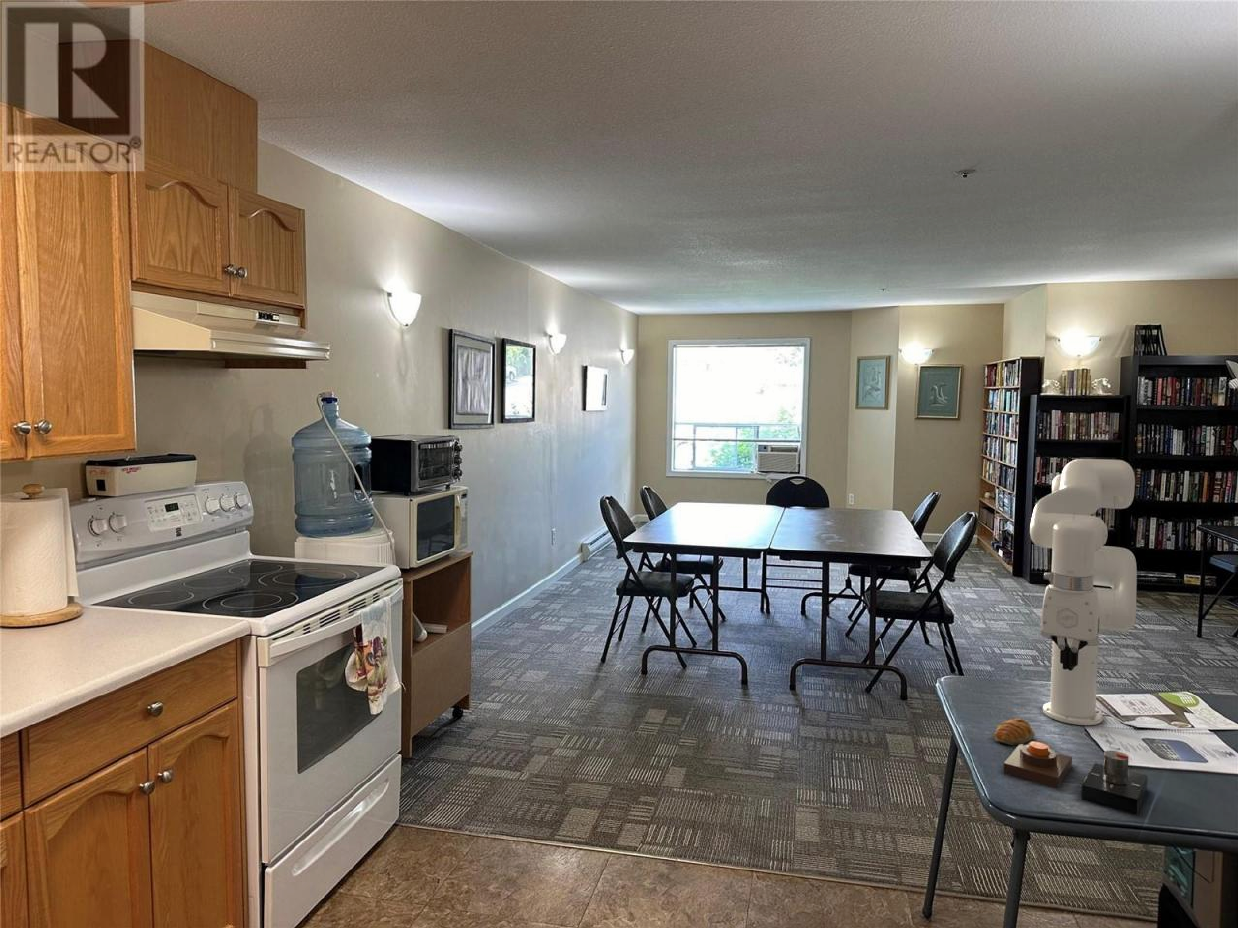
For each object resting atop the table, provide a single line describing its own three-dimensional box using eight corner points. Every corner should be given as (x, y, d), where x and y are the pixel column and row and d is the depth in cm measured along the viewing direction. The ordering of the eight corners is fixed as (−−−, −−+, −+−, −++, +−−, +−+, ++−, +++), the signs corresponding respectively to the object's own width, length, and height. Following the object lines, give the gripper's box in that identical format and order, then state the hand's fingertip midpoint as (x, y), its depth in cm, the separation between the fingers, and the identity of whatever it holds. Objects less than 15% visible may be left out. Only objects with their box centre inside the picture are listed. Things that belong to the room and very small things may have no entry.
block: (1019, 753, 176) (1020, 735, 175) (1071, 766, 169) (1072, 748, 169) (1003, 773, 167) (1004, 754, 166) (1057, 788, 160) (1058, 768, 160)
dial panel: (1094, 776, 165) (1095, 761, 164) (1146, 790, 159) (1147, 774, 159) (1081, 799, 156) (1082, 783, 155) (1136, 815, 150) (1137, 798, 150)
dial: (1101, 780, 157) (1102, 754, 156) (1105, 773, 160) (1106, 746, 159) (1125, 786, 154) (1127, 759, 154) (1128, 778, 157) (1130, 752, 157)
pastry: (1016, 750, 177) (1016, 733, 177) (986, 740, 182) (986, 723, 182) (1036, 738, 183) (1036, 722, 183) (1006, 729, 188) (1006, 713, 188)
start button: (1031, 747, 170) (1031, 739, 170) (1050, 752, 168) (1050, 744, 168) (1026, 753, 167) (1026, 745, 167) (1045, 758, 165) (1046, 750, 165)
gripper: (1027, 579, 169) (1024, 665, 171) (1110, 591, 159) (1106, 682, 161) (1037, 572, 174) (1034, 655, 176) (1118, 583, 164) (1114, 670, 167)
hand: (1068, 667), depth 169 cm, fingers closed
